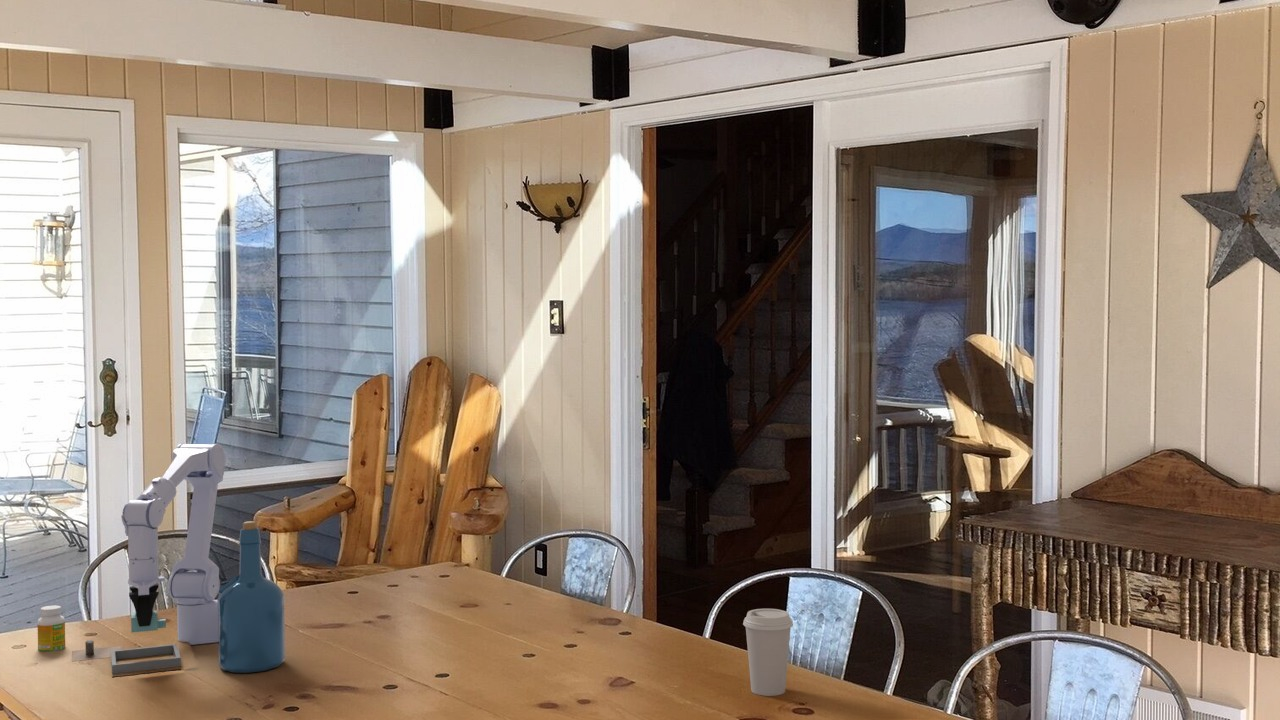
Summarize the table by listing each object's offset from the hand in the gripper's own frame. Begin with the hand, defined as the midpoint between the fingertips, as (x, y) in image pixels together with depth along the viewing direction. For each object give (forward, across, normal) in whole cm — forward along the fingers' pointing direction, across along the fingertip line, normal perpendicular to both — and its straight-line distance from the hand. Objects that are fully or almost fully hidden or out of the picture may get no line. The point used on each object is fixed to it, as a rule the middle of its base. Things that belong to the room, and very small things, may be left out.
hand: (144, 622), depth 257 cm
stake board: (+9, +12, +10) cm, 18 cm away
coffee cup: (+9, -64, -111) cm, 129 cm away
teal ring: (+1, 0, 0) cm, 1 cm away
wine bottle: (+9, -8, -20) cm, 24 cm away
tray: (+9, 0, 0) cm, 9 cm away
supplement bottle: (+9, +20, +19) cm, 29 cm away
